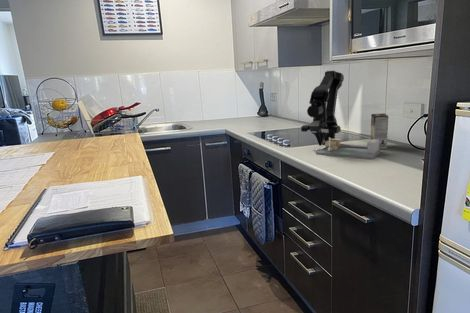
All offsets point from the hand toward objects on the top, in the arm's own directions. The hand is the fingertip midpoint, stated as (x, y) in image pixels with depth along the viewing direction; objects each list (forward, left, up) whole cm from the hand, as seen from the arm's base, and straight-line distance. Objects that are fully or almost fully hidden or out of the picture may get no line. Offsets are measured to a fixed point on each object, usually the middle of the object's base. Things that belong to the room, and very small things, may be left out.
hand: (320, 145), depth 168 cm
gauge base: (+3, +15, -2) cm, 15 cm away
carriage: (+2, +6, -1) cm, 7 cm away
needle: (+8, +8, 0) cm, 11 cm away
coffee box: (-15, +24, -2) cm, 29 cm away
